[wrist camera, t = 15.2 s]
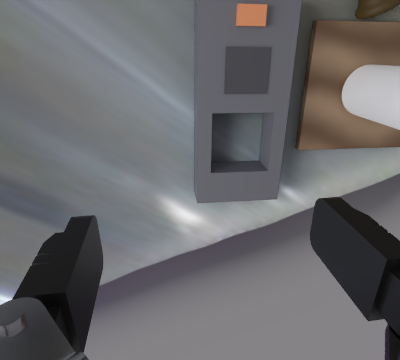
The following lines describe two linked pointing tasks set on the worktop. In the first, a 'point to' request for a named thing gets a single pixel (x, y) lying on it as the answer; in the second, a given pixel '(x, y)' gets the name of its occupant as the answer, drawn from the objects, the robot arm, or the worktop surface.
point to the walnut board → (335, 79)
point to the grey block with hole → (242, 90)
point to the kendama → (374, 7)
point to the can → (374, 94)
